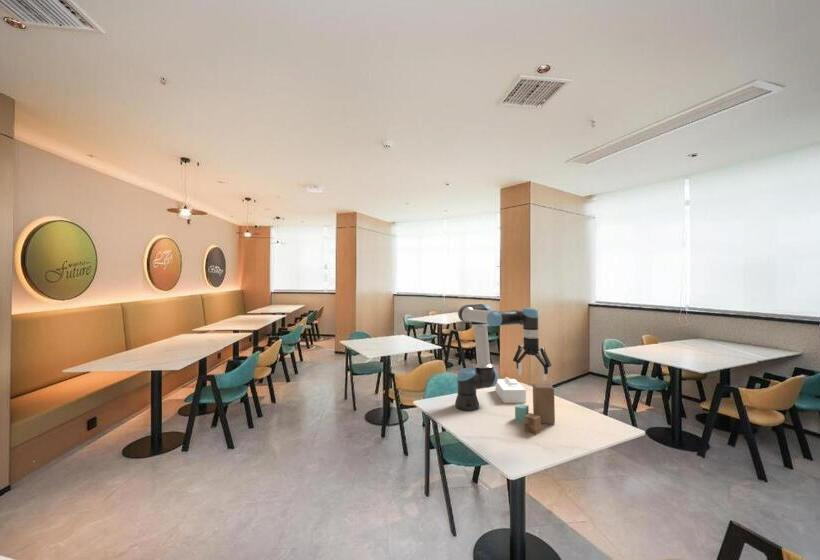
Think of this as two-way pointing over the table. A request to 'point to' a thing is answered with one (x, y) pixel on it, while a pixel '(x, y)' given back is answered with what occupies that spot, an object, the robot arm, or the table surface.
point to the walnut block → (532, 423)
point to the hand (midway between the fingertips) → (531, 377)
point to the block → (544, 402)
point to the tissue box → (510, 391)
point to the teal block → (521, 412)
